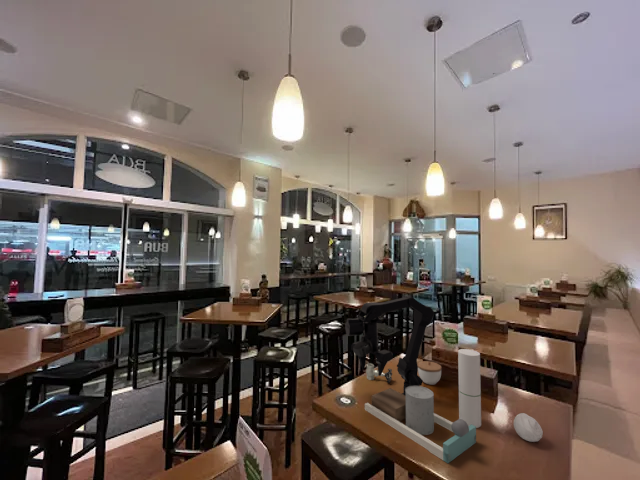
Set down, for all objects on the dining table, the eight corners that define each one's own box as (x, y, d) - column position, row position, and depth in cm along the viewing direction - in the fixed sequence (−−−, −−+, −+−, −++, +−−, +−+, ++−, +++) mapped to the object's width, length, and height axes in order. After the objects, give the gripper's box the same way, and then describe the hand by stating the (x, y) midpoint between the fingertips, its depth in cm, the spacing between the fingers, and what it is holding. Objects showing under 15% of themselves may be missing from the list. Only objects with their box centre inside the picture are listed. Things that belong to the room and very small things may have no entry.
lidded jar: (413, 377, 142) (413, 358, 143) (434, 376, 143) (434, 357, 144) (424, 387, 132) (423, 366, 132) (446, 386, 133) (445, 365, 133)
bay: (393, 398, 122) (392, 376, 122) (480, 444, 92) (479, 415, 93) (364, 410, 112) (364, 386, 112) (452, 466, 83) (451, 434, 83)
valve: (364, 380, 139) (388, 386, 133) (364, 366, 139) (388, 371, 133) (368, 375, 145) (392, 380, 139) (368, 361, 145) (392, 366, 139)
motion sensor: (537, 450, 90) (536, 425, 90) (509, 437, 96) (509, 414, 96) (545, 440, 94) (545, 416, 95) (519, 429, 101) (518, 406, 101)
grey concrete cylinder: (401, 420, 106) (401, 386, 106) (426, 419, 106) (426, 385, 107) (412, 436, 96) (411, 399, 97) (439, 435, 97) (438, 398, 98)
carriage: (390, 400, 119) (390, 388, 119) (414, 413, 109) (414, 400, 110) (371, 408, 113) (371, 395, 113) (395, 423, 103) (395, 409, 103)
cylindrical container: (479, 418, 107) (477, 350, 108) (483, 429, 100) (481, 356, 101) (458, 414, 109) (457, 348, 110) (460, 425, 103) (459, 354, 104)
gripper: (341, 332, 123) (341, 369, 122) (374, 343, 108) (375, 385, 107) (360, 328, 130) (360, 363, 129) (393, 337, 115) (394, 377, 114)
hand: (371, 371), depth 120 cm, fingers open, 9 cm apart
